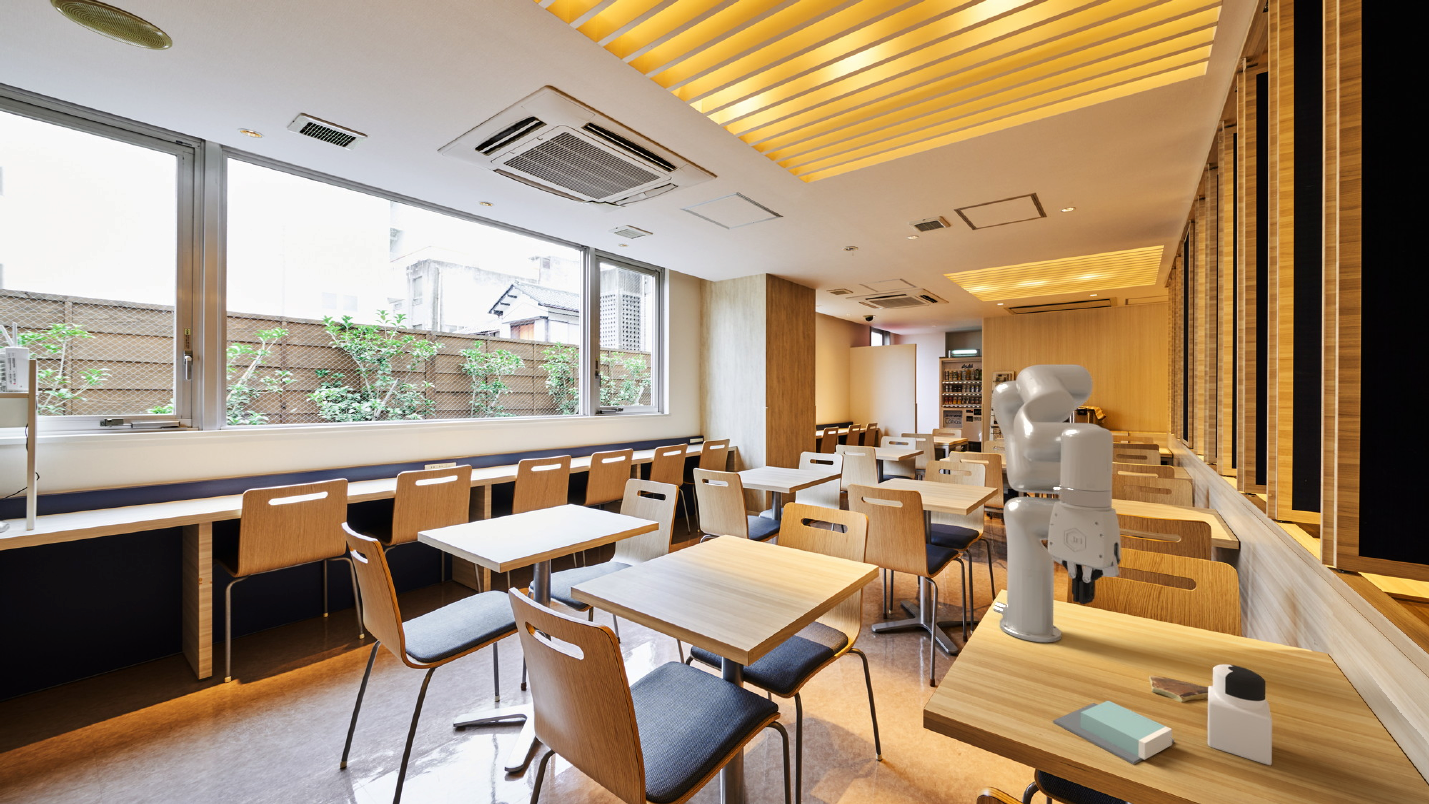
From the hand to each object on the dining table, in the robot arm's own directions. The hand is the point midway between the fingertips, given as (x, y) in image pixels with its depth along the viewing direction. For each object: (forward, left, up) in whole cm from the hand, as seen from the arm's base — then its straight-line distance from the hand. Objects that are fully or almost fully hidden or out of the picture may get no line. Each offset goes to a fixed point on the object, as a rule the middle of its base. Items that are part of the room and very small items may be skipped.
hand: (1083, 601), depth 97 cm
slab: (+3, -2, -18) cm, 18 cm away
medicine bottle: (+17, +12, -19) cm, 28 cm away
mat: (+6, -2, -19) cm, 20 cm away
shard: (+4, +24, -20) cm, 31 cm away
